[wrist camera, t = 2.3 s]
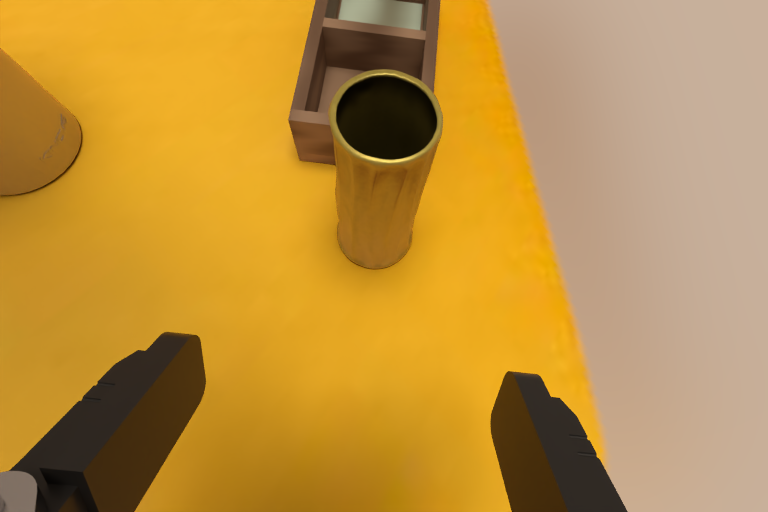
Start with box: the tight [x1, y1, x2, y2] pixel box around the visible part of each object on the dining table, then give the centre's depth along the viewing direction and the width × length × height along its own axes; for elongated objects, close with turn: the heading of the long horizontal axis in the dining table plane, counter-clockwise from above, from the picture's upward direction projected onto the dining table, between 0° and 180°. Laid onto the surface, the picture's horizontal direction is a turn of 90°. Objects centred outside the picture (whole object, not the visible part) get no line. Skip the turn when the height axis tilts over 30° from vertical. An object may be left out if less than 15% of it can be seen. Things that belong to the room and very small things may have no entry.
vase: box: [328, 69, 443, 269], centre depth 23 cm, size 6×6×14 cm
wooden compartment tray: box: [288, 0, 440, 165], centre depth 32 cm, size 10×20×5 cm, turn 174°
